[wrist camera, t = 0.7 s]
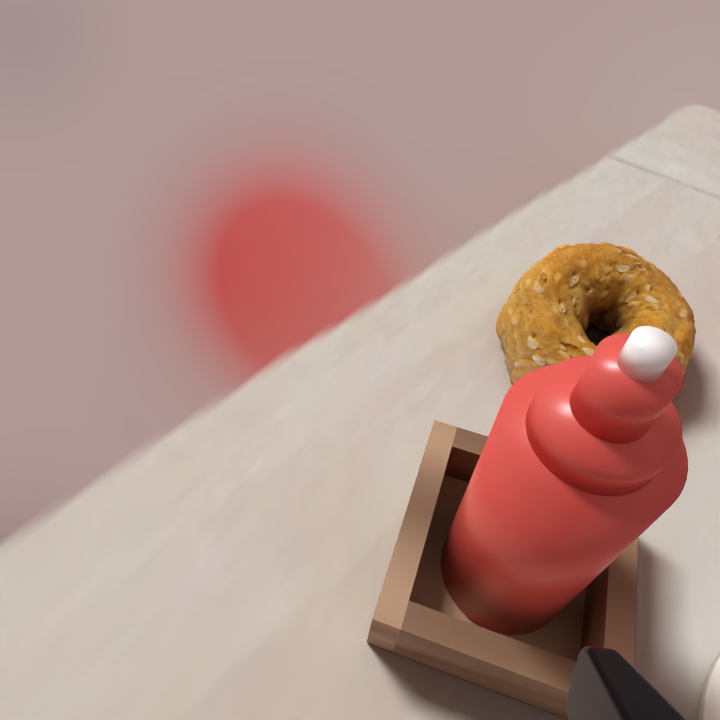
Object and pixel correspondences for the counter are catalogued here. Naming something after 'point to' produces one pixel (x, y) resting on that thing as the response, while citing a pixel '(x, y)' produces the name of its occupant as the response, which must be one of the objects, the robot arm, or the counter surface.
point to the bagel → (588, 306)
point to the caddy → (459, 633)
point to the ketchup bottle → (567, 481)
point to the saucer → (711, 693)
